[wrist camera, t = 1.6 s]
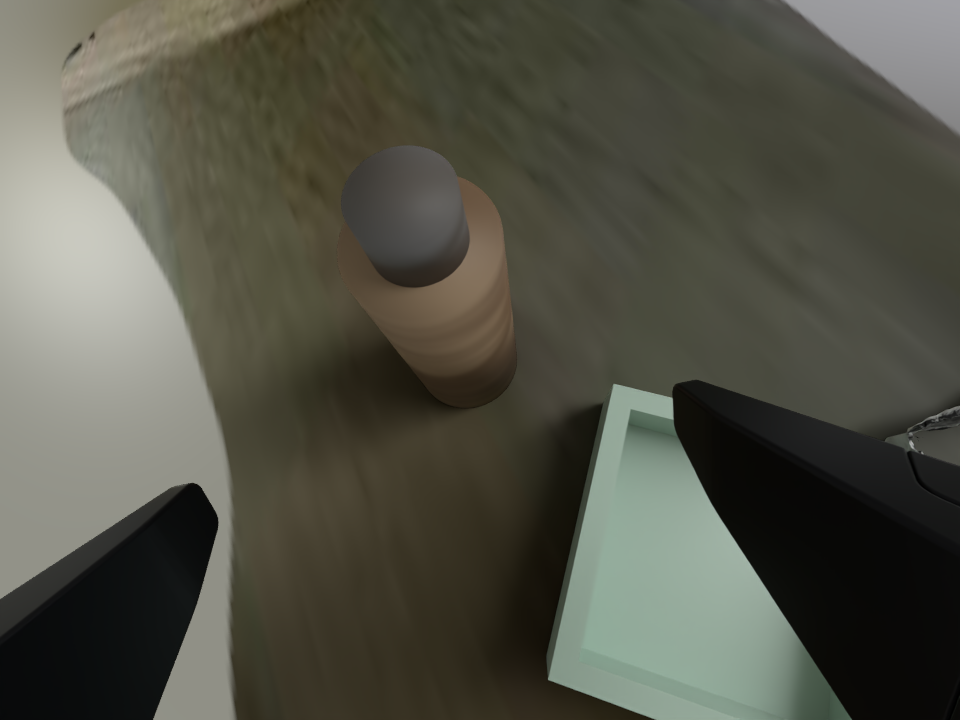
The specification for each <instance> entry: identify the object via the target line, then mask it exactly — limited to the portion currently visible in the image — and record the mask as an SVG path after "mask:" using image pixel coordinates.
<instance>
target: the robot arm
mask: <svg viewBox="0 0 960 720" xmlns="http://www.w3.org/2000/svg"><path fill="white" fill-rule="evenodd" d="M672 395H673V421H674V428H675V431H676V434H677V436H678V438H679V440H680V442H681V444H682V446H683V448H684V451H685V453H686V455H687V457H688V459H689V461H690V463H691V465H692V467H693V469H694V471H695V473H696V475H697V477H698V479H699V481H700V483H701V485H702V487H703V489H704V491H705V493H706V495H707V497H708V499H709V500H710V502H711V504H712V506H713V507H714V509H715V511H716V512H717V514H718V516H719V517H720V519H721V520H722V522H723V523H724V525H725V526H726V528H727V529H728V531H729V533H730V534H731V536H732V537H733V539H734V540H735V542H736V543H737V545H738V546H739V548H740V549H741V551H742V552H743V554H744V555H745V557H746V559H747V560H748V562H749V563H750V565H751V566H752V568H753V569H754V571H755V572H756V574H757V575H758V577H759V578H760V580H761V582H762V583H763V585H764V586H765V588H766V589H767V591H768V592H769V594H770V595H771V597H772V598H773V600H774V601H775V603H776V605H777V606H778V608H779V609H780V611H781V612H782V614H783V615H784V617H785V618H786V620H787V621H788V623H789V624H790V626H791V627H792V629H793V631H794V632H795V634H796V635H797V637H798V638H799V640H800V641H801V643H802V644H803V646H804V647H805V649H806V650H807V652H808V654H809V655H810V657H811V658H812V660H813V661H814V663H815V664H816V666H817V667H818V669H819V670H820V672H821V673H822V675H823V677H824V678H825V680H826V681H827V683H828V684H829V686H830V687H831V689H832V690H833V692H834V693H835V695H836V696H837V698H838V699H839V701H840V703H841V704H842V706H843V707H844V709H845V710H846V712H847V713H848V715H849V716H850V718H851V719H852V720H960V466H958V465H955V464H952V463H949V462H945V461H942V460H939V459H936V458H933V457H930V456H927V455H924V454H921V453H918V452H915V451H912V450H910V451H908V452H907V451H906V450H905V448H903V447H900V446H897V445H894V444H891V443H888V442H885V441H882V440H878V439H875V438H872V437H869V436H866V435H863V434H860V433H857V432H854V431H851V430H848V429H845V428H842V427H839V426H836V425H833V424H830V423H827V422H824V421H821V420H818V419H815V418H812V417H809V416H806V415H803V414H800V413H797V412H794V411H790V410H787V409H784V408H781V407H778V406H775V405H772V404H769V403H766V402H763V401H760V400H757V399H754V398H751V397H748V396H745V395H742V394H739V393H736V392H733V391H730V390H727V389H724V388H721V387H718V386H715V385H712V384H709V383H706V382H702V381H699V380H692V381H687V382H682V383H678V384H676V385H675V386H674V387H673V391H672ZM217 530H218V517H217V514H216V512H215V510H214V508H213V507H212V505H211V503H210V502H209V500H208V498H207V497H206V495H205V493H204V491H203V490H202V488H201V487H200V486H199V485H197V484H195V483H188V484H183V485H179V486H174V487H172V488H170V489H168V490H167V491H165V492H164V493H162V494H160V495H159V496H157V497H156V498H154V499H153V500H151V501H150V502H148V503H147V504H145V505H144V506H142V507H141V508H139V509H138V510H136V511H135V512H133V513H131V514H130V515H128V516H127V517H125V518H124V519H122V520H121V521H119V522H118V523H116V524H115V525H113V526H112V527H110V528H109V529H107V530H106V531H104V532H102V533H101V534H99V535H98V536H96V537H95V538H93V539H92V540H90V541H89V542H87V543H85V544H84V545H82V546H81V547H79V548H78V549H76V550H75V551H73V552H72V553H70V554H69V555H67V556H66V557H64V558H63V559H61V560H59V561H58V562H56V563H55V564H53V565H52V566H50V567H49V568H47V569H46V570H44V571H43V572H41V573H40V574H38V575H36V576H35V577H33V578H32V579H30V580H29V581H27V582H26V583H24V584H23V585H21V586H20V587H18V588H17V589H15V590H13V591H12V592H10V593H9V594H8V595H6V596H4V597H3V598H1V599H0V720H153V718H154V715H155V713H156V710H157V707H158V705H159V702H160V699H161V697H162V694H163V692H164V689H165V686H166V684H167V681H168V679H169V676H170V674H171V671H172V668H173V666H174V663H175V660H176V658H177V655H178V653H179V650H180V647H181V645H182V642H183V640H184V637H185V634H186V632H187V629H188V626H189V624H190V621H191V619H192V616H193V613H194V610H195V607H196V605H197V601H198V598H199V595H200V591H201V588H202V584H203V581H204V577H205V573H206V570H207V566H208V562H209V559H210V555H211V552H212V548H213V544H214V540H215V537H216V533H217Z"/></svg>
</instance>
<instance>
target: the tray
mask: <svg viewBox="0 0 960 720" xmlns="http://www.w3.org/2000/svg"><path fill="white" fill-rule="evenodd" d="M546 659H547V672H548V680H550V681H553V682H555V683H558V684H561V685H563V686H566V687H569V688H572V689H574V690H577V691H580V692H582V693H585V694H588V695H591V696H593V697H596V698H599V699H601V700H604V701H607V702H609V703H612V704H615V705H618V706H620V707H623V708H626V709H628V710H631V711H634V712H637V713H639V714H642V715H645V716H647V717H650V718H653V719H656V720H852V719H851V718H850V716H849V715H848V713H847V712H846V710H845V709H844V707H843V706H842V704H841V703H840V701H839V699H838V698H837V696H836V695H835V693H834V692H833V690H832V689H831V687H830V686H829V684H828V683H827V681H826V680H825V678H824V677H823V675H822V673H821V672H820V670H819V669H818V667H817V666H816V664H815V663H814V661H813V660H812V658H811V657H810V655H809V654H808V652H807V650H806V649H805V647H804V646H803V644H802V643H801V641H800V640H799V638H798V637H797V635H796V634H795V632H794V631H793V629H792V627H791V626H790V624H789V623H788V621H787V620H786V618H785V617H784V615H783V614H782V612H781V611H780V609H779V608H778V606H777V605H776V603H775V601H774V600H773V598H772V597H771V595H770V594H769V592H768V591H767V589H766V588H765V586H764V585H763V583H762V582H761V580H760V578H759V577H758V575H757V574H756V572H755V571H754V569H753V568H752V566H751V565H750V563H749V562H748V560H747V559H746V557H745V555H744V554H743V552H742V551H741V549H740V548H739V546H738V545H737V543H736V542H735V540H734V539H733V537H732V536H731V534H730V533H729V531H728V529H727V528H726V526H725V525H724V523H723V522H722V520H721V519H720V517H719V516H718V514H717V512H716V511H715V509H714V507H713V506H712V504H711V502H710V500H709V499H708V497H707V495H706V493H705V491H704V489H703V487H702V485H701V483H700V481H699V479H698V477H697V475H696V473H695V471H694V469H693V467H692V465H691V463H690V461H689V459H688V457H687V455H686V453H685V451H684V448H683V446H682V444H681V442H680V440H679V438H678V436H677V434H676V431H675V428H674V421H673V398H670V397H666V396H662V395H658V394H653V393H649V392H645V391H641V390H637V389H633V388H629V387H625V386H621V385H617V384H613V386H612V388H611V390H610V391H609V393H608V395H607V397H606V399H605V401H604V402H603V406H602V411H601V415H600V420H599V424H598V429H597V433H596V438H595V442H594V446H593V451H592V455H591V460H590V464H589V469H588V473H587V477H586V482H585V486H584V491H583V495H582V500H581V504H580V509H579V513H578V517H577V522H576V526H575V531H574V535H573V540H572V544H571V548H570V553H569V557H568V562H567V566H566V571H565V575H564V580H563V584H562V588H561V593H560V597H559V602H558V606H557V611H556V615H555V620H554V624H553V628H552V633H551V637H550V642H549V646H548V651H547V655H546Z"/></svg>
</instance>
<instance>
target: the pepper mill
mask: <svg viewBox="0 0 960 720" xmlns="http://www.w3.org/2000/svg"><path fill="white" fill-rule="evenodd" d="M341 208H342V213H343V217H344V219H345V222H344V224H343V227H342V229H341V232H340V235H339V240H338V244H337V262H338V267H339V271H340V274H341V277H342V279H343V281H344V283H345V285H346V286H347V288H348V290H349V291H350V292H351V294H352V295H353V296H354V297H355V299H356V300H357V301H358V302H359V304H360V305H361V306H362V307H363V309H364V310H365V311H366V312H367V314H368V315H369V316H370V317H371V319H372V320H373V321H374V323H375V324H376V325H377V326H378V328H379V329H380V330H381V331H382V333H383V334H384V335H385V336H386V338H387V339H388V340H389V341H390V343H391V344H392V345H393V347H394V348H395V349H396V350H397V352H398V353H399V354H400V355H401V357H402V358H403V359H404V360H405V362H406V363H407V364H408V365H409V367H410V368H411V369H412V371H413V372H414V373H415V374H416V376H417V377H418V378H419V379H420V381H421V382H422V383H423V384H424V386H425V387H426V388H427V389H428V391H429V392H430V393H431V394H432V395H433V396H434V397H435V398H436V399H438V400H439V401H441V402H443V403H445V404H447V405H450V406H453V407H458V408H474V407H479V406H482V405H485V404H487V403H489V402H491V401H493V400H495V399H496V398H497V397H499V396H500V395H501V394H502V393H503V392H504V391H505V390H506V389H507V387H508V386H509V384H510V383H511V381H512V379H513V377H514V374H515V371H516V366H517V352H516V343H515V334H514V325H513V316H512V307H511V298H510V289H509V280H508V271H507V262H506V253H505V245H504V236H503V228H502V223H501V219H500V216H499V214H498V211H497V209H496V207H495V206H494V204H493V202H492V201H491V200H490V198H489V197H488V196H487V195H486V194H485V193H484V192H483V191H482V190H481V189H480V188H478V187H477V186H475V185H474V184H473V183H471V182H469V181H467V180H465V179H463V178H460V177H458V176H456V173H455V171H454V169H453V167H452V166H451V165H450V163H449V162H448V161H447V160H446V159H445V158H444V157H442V156H441V155H440V154H438V153H436V152H434V151H432V150H430V149H427V148H423V147H419V146H397V147H392V148H388V149H385V150H382V151H380V152H378V153H375V154H374V155H372V156H370V157H368V158H367V159H366V160H364V161H363V162H362V163H361V164H360V165H359V166H357V168H356V169H355V170H354V171H353V172H352V174H351V175H350V176H349V178H348V180H347V182H346V184H345V186H344V189H343V192H342V198H341Z"/></svg>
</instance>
